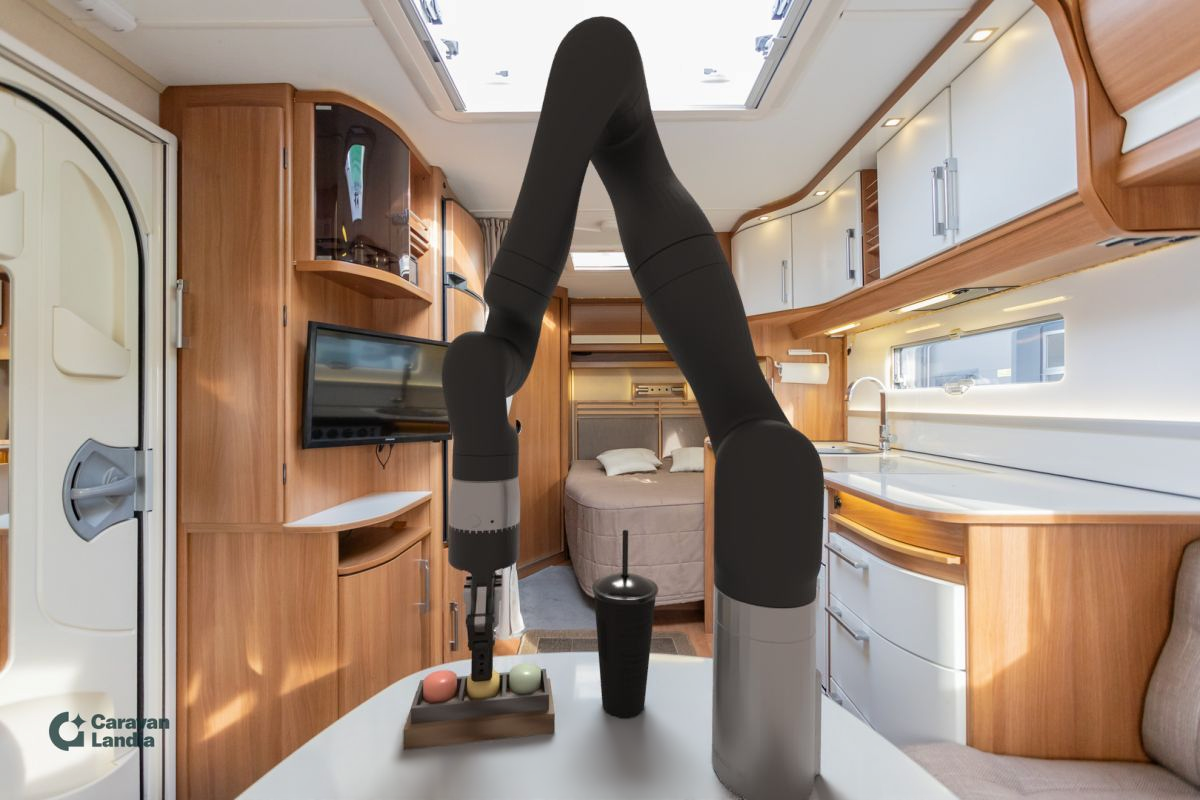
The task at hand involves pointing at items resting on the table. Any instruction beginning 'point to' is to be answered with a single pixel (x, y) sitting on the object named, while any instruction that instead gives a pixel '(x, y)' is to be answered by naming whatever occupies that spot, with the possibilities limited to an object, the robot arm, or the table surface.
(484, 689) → the button ochre
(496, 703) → the toy traffic light
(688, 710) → the table surface
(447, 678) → the button coral
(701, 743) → the table surface
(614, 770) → the table surface
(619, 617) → the drinking cup
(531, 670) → the button sage
